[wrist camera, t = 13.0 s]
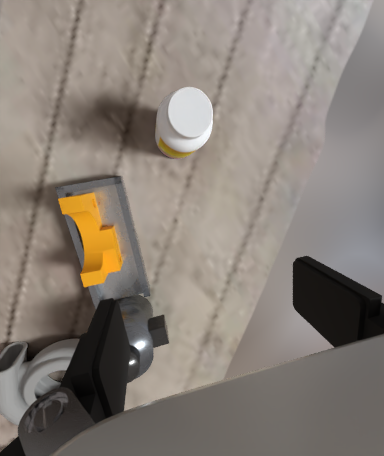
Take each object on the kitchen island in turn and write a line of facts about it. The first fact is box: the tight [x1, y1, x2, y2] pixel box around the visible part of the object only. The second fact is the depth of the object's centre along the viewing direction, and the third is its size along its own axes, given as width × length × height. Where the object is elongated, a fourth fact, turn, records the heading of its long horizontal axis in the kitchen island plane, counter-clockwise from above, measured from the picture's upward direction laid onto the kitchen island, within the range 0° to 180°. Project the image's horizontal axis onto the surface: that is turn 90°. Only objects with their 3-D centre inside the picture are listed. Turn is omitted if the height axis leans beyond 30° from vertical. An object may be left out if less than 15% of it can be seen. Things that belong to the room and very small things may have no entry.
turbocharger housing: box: [0, 339, 80, 426], centre depth 36 cm, size 17×6×15 cm
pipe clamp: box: [58, 192, 123, 287], centre depth 31 cm, size 12×4×6 cm, turn 8°
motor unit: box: [55, 176, 169, 383], centre depth 31 cm, size 28×11×12 cm, turn 10°
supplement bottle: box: [155, 87, 213, 159], centre depth 27 cm, size 7×7×13 cm
